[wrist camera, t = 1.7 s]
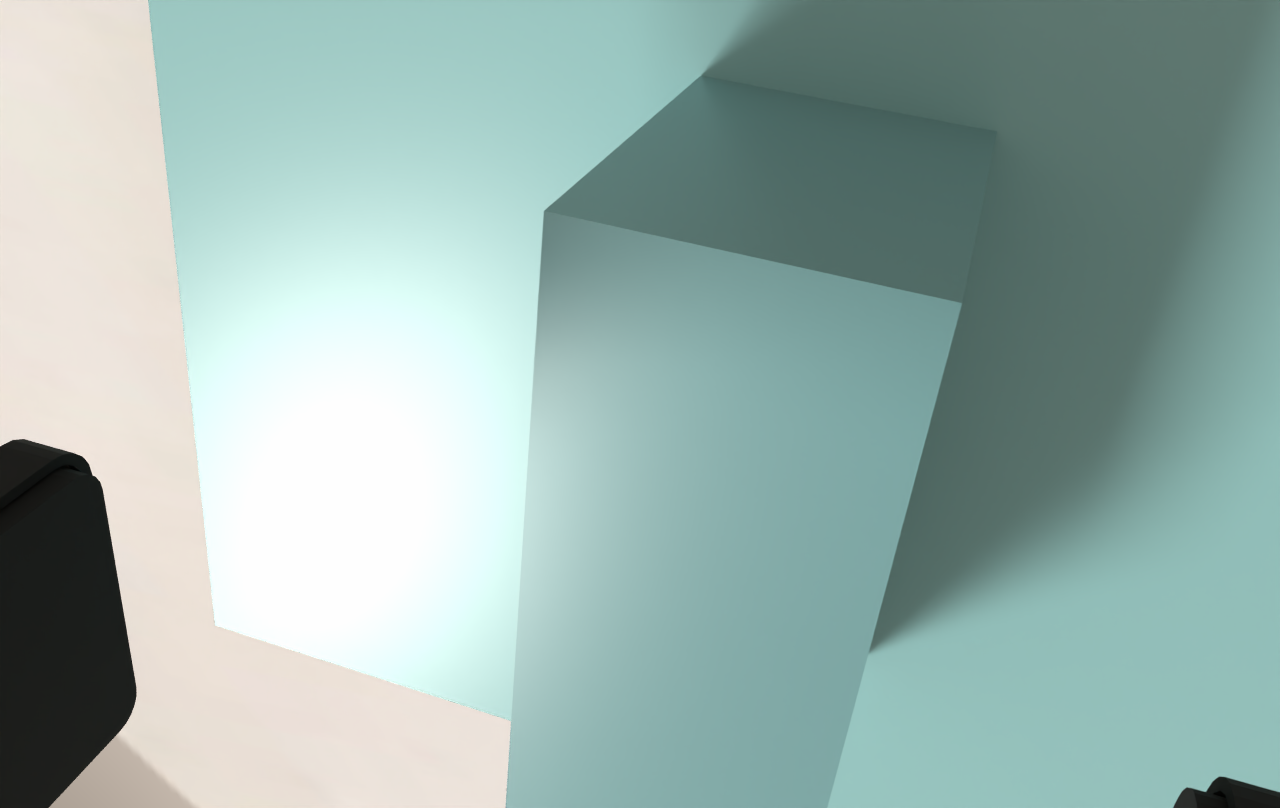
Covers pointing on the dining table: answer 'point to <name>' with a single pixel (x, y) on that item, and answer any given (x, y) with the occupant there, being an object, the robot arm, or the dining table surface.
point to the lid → (751, 382)
